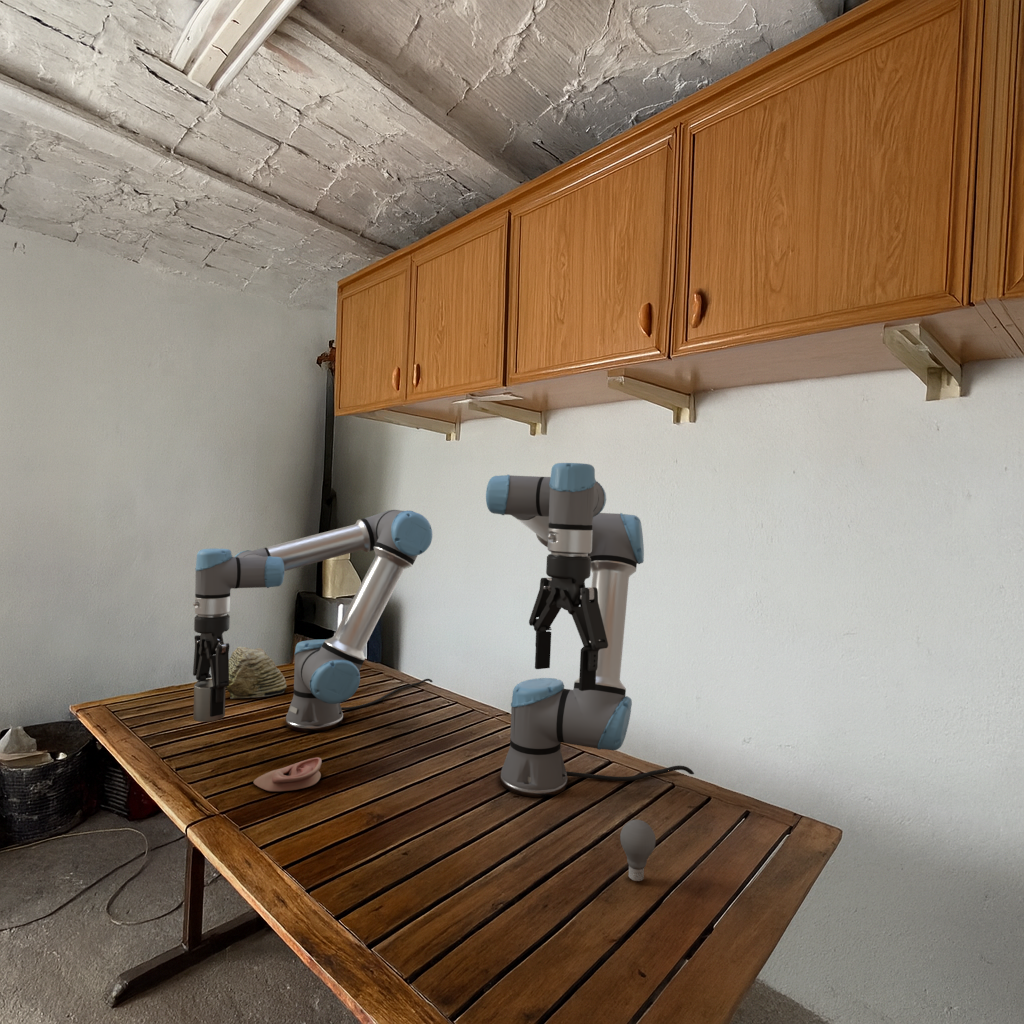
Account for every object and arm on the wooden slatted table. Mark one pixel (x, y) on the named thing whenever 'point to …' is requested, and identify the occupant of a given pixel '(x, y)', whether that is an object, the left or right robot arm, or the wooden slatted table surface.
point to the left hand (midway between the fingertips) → (209, 710)
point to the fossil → (253, 674)
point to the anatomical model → (291, 776)
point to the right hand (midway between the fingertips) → (563, 678)
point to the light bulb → (637, 846)
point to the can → (204, 702)
